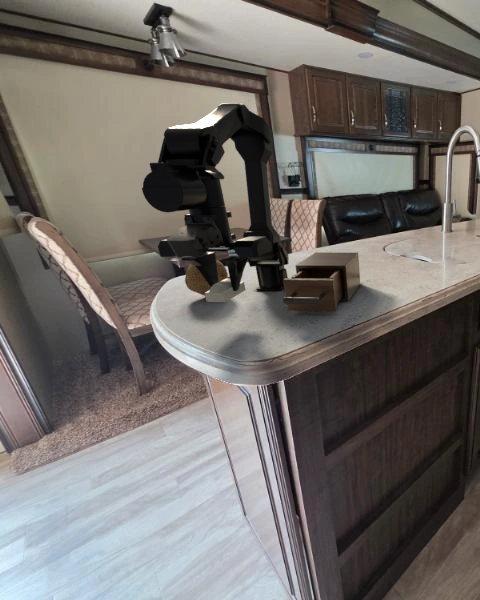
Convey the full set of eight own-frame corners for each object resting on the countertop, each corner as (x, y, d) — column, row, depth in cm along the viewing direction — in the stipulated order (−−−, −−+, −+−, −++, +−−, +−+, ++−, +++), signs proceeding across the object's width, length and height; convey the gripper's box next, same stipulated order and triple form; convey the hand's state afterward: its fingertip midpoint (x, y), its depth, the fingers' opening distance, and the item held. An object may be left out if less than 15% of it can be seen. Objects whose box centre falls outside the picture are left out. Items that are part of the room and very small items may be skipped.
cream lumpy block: (225, 302, 58) (221, 284, 57) (206, 301, 59) (202, 284, 57) (245, 290, 65) (242, 274, 64) (228, 289, 65) (224, 274, 64)
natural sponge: (236, 296, 78) (228, 257, 74) (195, 306, 72) (183, 263, 69) (226, 288, 84) (218, 251, 80) (187, 296, 78) (177, 257, 75)
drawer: (329, 321, 61) (325, 287, 59) (277, 319, 62) (271, 287, 60) (349, 291, 77) (347, 264, 75) (308, 291, 78) (305, 264, 76)
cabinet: (348, 301, 73) (345, 265, 70) (300, 300, 74) (295, 265, 71) (360, 283, 86) (358, 252, 83) (318, 283, 87) (315, 252, 84)
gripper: (116, 212, 49) (146, 305, 55) (230, 211, 47) (249, 307, 53) (171, 206, 59) (192, 285, 65) (266, 205, 58) (279, 286, 63)
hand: (225, 290), depth 61 cm, fingers closed on cream lumpy block, 4 cm apart
